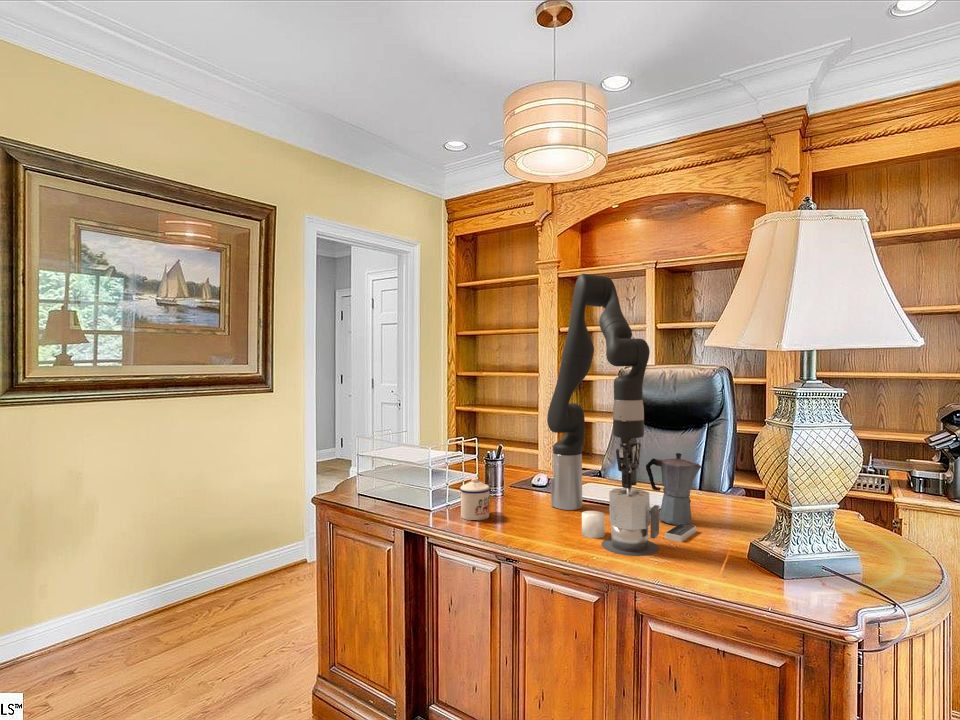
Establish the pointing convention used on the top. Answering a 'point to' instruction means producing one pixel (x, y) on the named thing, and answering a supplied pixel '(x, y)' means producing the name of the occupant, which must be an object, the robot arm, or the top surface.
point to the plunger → (633, 477)
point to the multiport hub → (680, 532)
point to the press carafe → (632, 519)
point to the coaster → (651, 550)
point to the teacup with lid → (475, 500)
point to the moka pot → (675, 488)
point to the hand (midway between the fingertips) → (629, 485)
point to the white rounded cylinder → (593, 524)
